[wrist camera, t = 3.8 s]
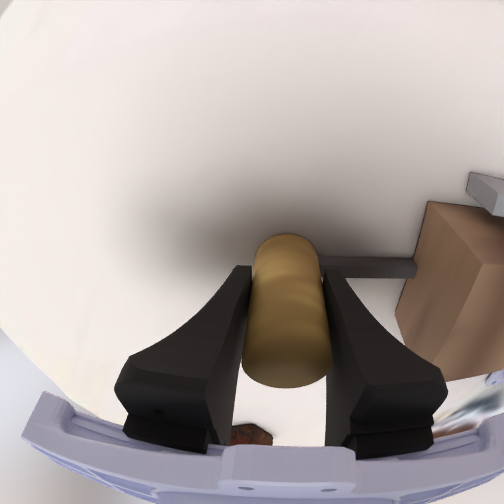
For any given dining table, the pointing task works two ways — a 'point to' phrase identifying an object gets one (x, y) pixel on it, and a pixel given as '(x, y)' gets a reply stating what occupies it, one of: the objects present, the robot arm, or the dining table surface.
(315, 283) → the wooden mallet
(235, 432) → the brick
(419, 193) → the dining table surface
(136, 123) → the dining table surface
